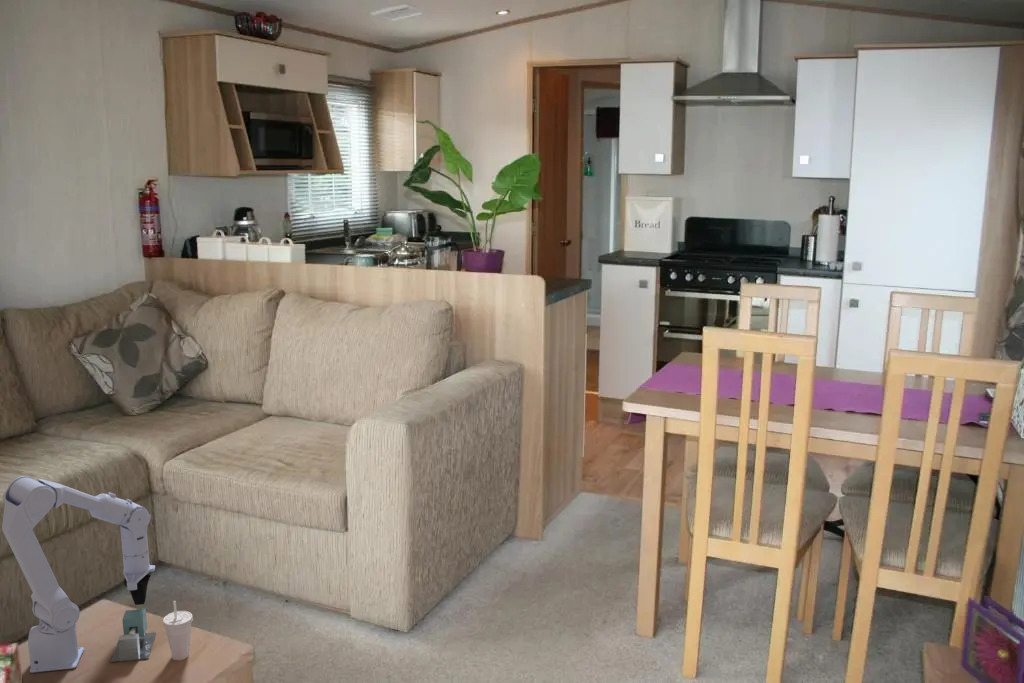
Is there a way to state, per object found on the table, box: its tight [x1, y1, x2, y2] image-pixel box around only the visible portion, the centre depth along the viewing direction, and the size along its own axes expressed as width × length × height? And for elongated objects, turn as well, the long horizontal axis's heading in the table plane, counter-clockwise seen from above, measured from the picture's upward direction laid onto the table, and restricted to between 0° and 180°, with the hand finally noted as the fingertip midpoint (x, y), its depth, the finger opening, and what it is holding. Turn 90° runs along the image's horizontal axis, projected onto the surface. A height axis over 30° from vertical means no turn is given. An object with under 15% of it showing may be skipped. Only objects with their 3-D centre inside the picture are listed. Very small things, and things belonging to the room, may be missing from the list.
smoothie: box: [162, 600, 194, 661], centre depth 203 cm, size 6×6×14 cm
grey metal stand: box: [110, 626, 157, 663], centre depth 207 cm, size 8×11×6 cm
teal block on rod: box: [121, 608, 148, 637], centre depth 209 cm, size 4×4×5 cm
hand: (140, 603), depth 215 cm, fingers closed
